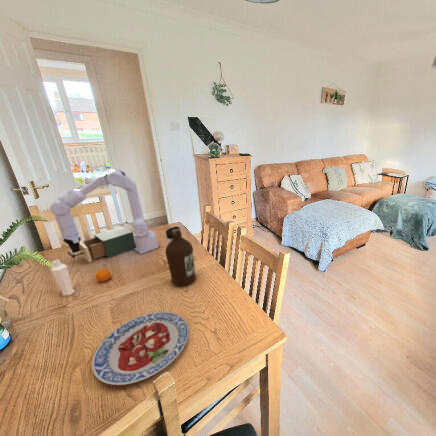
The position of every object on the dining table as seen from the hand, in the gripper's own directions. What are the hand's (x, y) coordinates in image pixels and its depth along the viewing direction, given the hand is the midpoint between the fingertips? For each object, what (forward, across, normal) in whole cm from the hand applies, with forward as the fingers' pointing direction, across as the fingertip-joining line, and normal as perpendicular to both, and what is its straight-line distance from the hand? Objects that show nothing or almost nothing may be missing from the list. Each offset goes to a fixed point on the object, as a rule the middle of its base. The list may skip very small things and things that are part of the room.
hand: (76, 251), depth 114 cm
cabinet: (+6, 0, +16) cm, 17 cm away
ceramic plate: (+6, +73, -5) cm, 73 cm away
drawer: (+5, 0, +6) cm, 8 cm away
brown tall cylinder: (+6, +40, +28) cm, 49 cm away
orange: (+6, +25, +2) cm, 26 cm away
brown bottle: (+6, +52, +22) cm, 57 cm away
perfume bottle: (+6, +23, -10) cm, 26 cm away
